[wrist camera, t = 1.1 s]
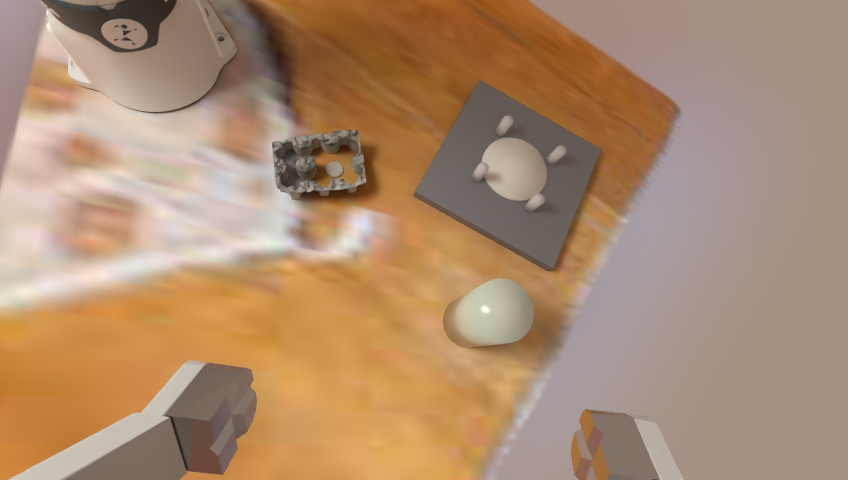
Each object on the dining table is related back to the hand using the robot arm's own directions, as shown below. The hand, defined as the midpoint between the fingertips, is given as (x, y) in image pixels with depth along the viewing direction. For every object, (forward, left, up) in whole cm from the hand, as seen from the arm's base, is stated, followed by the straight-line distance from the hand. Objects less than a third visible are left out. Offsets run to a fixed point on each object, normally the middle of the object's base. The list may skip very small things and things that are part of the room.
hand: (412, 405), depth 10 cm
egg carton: (-24, +4, -38) cm, 45 cm away
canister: (0, +14, -38) cm, 40 cm away
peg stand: (-16, +28, -38) cm, 50 cm away
